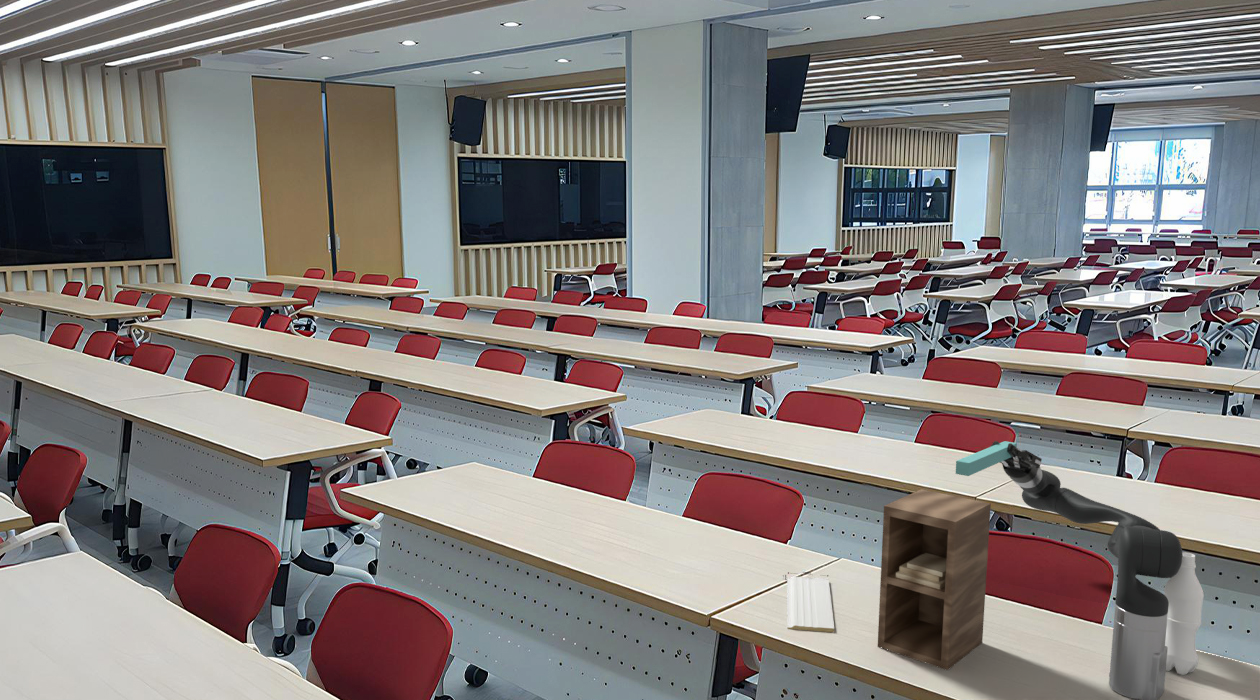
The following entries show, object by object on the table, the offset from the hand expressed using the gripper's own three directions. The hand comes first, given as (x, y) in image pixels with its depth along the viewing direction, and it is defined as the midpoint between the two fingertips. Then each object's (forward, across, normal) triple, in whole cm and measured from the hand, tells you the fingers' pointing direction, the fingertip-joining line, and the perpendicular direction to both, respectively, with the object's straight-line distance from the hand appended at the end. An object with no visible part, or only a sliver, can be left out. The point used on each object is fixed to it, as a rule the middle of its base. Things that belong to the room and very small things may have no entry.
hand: (1002, 446), depth 230 cm
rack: (+10, 0, +51) cm, 52 cm away
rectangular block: (+6, 0, +7) cm, 9 cm away
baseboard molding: (+10, -32, +52) cm, 62 cm away
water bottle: (-12, +43, +39) cm, 59 cm away
